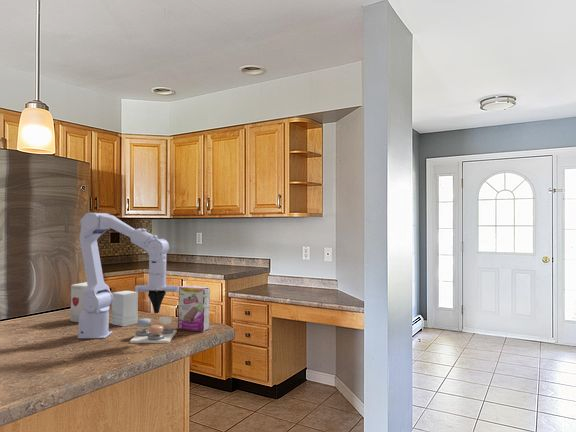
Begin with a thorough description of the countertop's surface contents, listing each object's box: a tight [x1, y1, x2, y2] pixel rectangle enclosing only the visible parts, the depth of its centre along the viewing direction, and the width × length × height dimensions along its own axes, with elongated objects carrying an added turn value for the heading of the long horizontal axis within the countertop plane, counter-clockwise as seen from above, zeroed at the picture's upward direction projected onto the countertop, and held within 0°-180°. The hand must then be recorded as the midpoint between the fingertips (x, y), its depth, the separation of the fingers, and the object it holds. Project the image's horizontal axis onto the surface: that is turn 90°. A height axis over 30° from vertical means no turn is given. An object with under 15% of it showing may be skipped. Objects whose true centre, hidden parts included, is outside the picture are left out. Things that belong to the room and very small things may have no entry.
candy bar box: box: [177, 284, 211, 333], centre depth 164 cm, size 11×5×16 cm, turn 74°
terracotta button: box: [148, 324, 164, 334], centre depth 148 cm, size 5×5×2 cm
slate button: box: [136, 317, 152, 328], centre depth 153 cm, size 5×5×2 cm
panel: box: [129, 326, 178, 344], centre depth 152 cm, size 13×14×3 cm
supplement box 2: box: [110, 290, 139, 327], centre depth 171 cm, size 7×7×13 cm
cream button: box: [158, 316, 173, 326], centre depth 157 cm, size 5×5×2 cm
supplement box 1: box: [69, 281, 88, 323], centre depth 176 cm, size 9×9×15 cm
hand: (156, 312), depth 149 cm, fingers closed
